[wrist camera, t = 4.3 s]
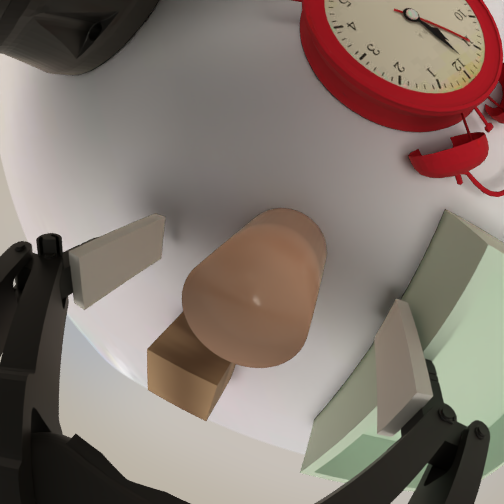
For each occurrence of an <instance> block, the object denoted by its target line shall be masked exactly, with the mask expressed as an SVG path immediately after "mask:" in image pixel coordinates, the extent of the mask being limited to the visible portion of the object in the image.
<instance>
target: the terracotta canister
mask: <svg viewBox="0 0 504 504" xmlns="http://www.w3.org/2000/svg"><path fill="white" fill-rule="evenodd" d="M326 257H327V247H326V242H325V239H324V236H323V234H322V232H321V230H320V229H319V227H318V226H317V224H316V223H315V222H314V221H313V220H311V219H310V218H309V217H308V216H306V215H304V214H303V213H301V212H298V211H296V210H292V209H287V208H276V209H271V210H267V211H265V212H263V213H261V214H259V215H258V216H257V217H255V218H254V219H253V220H252V221H250V222H249V223H248V224H247V225H246V226H244V227H243V228H242V229H241V230H239V231H238V232H237V233H236V234H235V235H233V236H232V237H231V238H230V239H229V240H227V241H226V242H225V243H224V244H222V245H221V246H220V247H219V248H218V249H216V250H215V251H214V252H213V253H212V254H210V255H209V256H208V257H207V258H206V259H205V260H203V261H202V262H201V263H200V264H199V265H197V266H196V267H195V268H194V269H193V270H192V271H191V272H190V274H189V275H188V277H187V279H186V281H185V283H184V286H183V291H182V306H183V311H184V315H185V318H186V320H187V322H188V324H189V326H190V328H191V330H192V331H193V333H194V334H195V335H196V337H197V338H198V339H199V340H200V341H201V342H202V343H203V344H204V345H205V346H206V347H207V348H208V349H209V350H211V351H212V352H213V353H215V354H216V355H218V356H219V357H221V358H223V359H225V360H227V361H229V362H232V363H234V364H237V365H241V366H245V367H252V368H267V367H273V366H277V365H280V364H282V363H285V362H287V361H288V360H290V359H291V358H293V357H294V356H295V355H296V354H297V353H298V352H299V351H300V350H301V348H302V347H303V345H304V343H305V341H306V339H307V335H308V332H309V328H310V324H311V320H312V317H313V313H314V309H315V305H316V301H317V297H318V293H319V288H320V284H321V280H322V275H323V271H324V267H325V262H326Z"/></svg>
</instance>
